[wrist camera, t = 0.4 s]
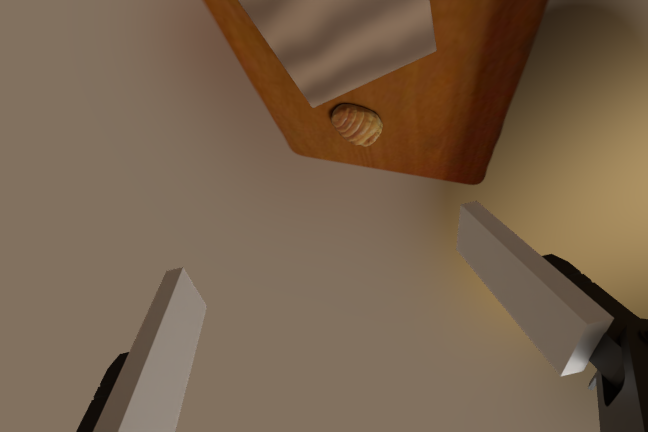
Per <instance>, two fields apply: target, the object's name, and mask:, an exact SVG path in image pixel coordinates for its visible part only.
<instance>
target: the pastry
mask: <svg viewBox="0 0 648 432" xmlns="http://www.w3.org/2000/svg"><path fill="white" fill-rule="evenodd" d="M331 122H332V124H333V125H334V126H335V129H336V130H337V131H339V133H340V135H341V136H343V137H344V139H346V140H347V141H350V142H351V143H352V144H354V145H359V144H360V145H363V146H369V145H371V144H372V143H373V142H375V141H376V139H377V137H378V136H379V135H380V133H381V130H382V126H383V124H382V121H381V120H380V118H379V117H378V115H377V114H375V113H374V112H372V111H371V110H368V109H365V108H363V107H359V106H356V105H352V104H341V105H339V106H338V107H337V108H336V109H335V110H334V111H333V114H332V117H331Z"/></svg>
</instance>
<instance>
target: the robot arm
mask: <svg viewBox="0 0 648 432" xmlns="http://www.w3.org/2000/svg"><path fill="white" fill-rule="evenodd" d="M456 249H457V251H458V252H459V253H460V254H461V256H462V257H463V258H464V259H465V260H466V262H467V263H468V264H469V265H470V267H471V268H472V269H473V270H474V271H475V272H476V274H477V275H478V276H479V277H480V279H481V280H482V281H483V282H484V284H485V285H486V286H487V287H488V288H489V289H490V291H491V292H492V293H493V295H495V297H496V298H497V299H498V301H499V302H500V303H501V304H502V306H503V307H504V308H505V309H506V310H507V311H508V313H509V314H510V315H511V316H512V318H513V319H514V320H515V321H516V323H517V324H518V325H519V326H520V327H521V329H522V330H523V331H524V332H525V334H526V335H527V336H528V337H529V338H530V340H531V341H532V342H533V343H534V344H535V346H536V347H537V348H538V349H539V351H540V352H541V353H542V354H543V355H544V357H545V358H546V359H547V360H548V362H549V363H550V364H551V365H552V366H553V367H554V369H555V370H556V371H557V373H558V374H559V375H560V376H564V375H568V374H572V373H576V372H581V371H583V370H584V368H585V367H586V365H587V363H588V362H589V361H590V362H591V363H592V364H593V365H594V366H595V367H596V368H597V369H598V370H597V372H596V373H595V375H594V376H593V378H592V380H591V381H590V383H589V387H588V389H590V390H593V389H594V387H595V386H596V385H597V397H598V408H599V420H600V432H648V319H640V318H639V317H637V316H636V315H635V314H633V313H632V312H631V311H629V310H628V309H627V308H626V307H624V306H623V305H622V304H621V303H619V302H618V301H617V300H616V299H614V298H613V297H612V296H610V295H609V294H608V293H607V292H605V291H604V290H603V289H602V288H600V287H599V286H598V285H597V284H595V283H592V281H591V280H590V279H589V278H588V277H587V276H585V275H584V274H581V272H580V271H579V270H578V269H576V268H575V267H574V266H573V265H572V264H570V263H569V262H568V261H565V260H563V259H561V258H559V257H557V256H555V255H553V254H549V255H544V256H541V255H540V254H538V253H537V252H536V251H534V249H532V248H531V247H530V246H529V245H528V244H526V243H525V242H524V241H523V240H522V239H521V238H519V237H518V236H517V235H516V234H515V233H514V232H513V231H511V230H510V229H509V228H508V227H507V226H505V225H504V224H503V223H502V222H501V221H500V220H498V219H497V218H496V217H495V216H494V215H493V214H491V213H490V212H489V211H488V210H487V209H485V208H484V207H483V206H482V205H481V204H480V203H479V202H477V201H475V202H470V203H465V204H461V207H460V217H459V228H458V238H457V248H456ZM206 308H207V306H206V304H205V303H204V301H203V299H202V298H201V296H200V294H199V293H198V291H197V289H196V288H195V286H194V284H193V283H192V281H191V279H190V278H189V276H188V275H187V273H186V271H185V270H184V268H183V267H182V268H178V269H173V270H169V271H166V273H165V275H164V278H163V280H162V282H161V284H160V286H159V289H158V291H157V293H156V295H155V298H154V300H153V302H152V304H151V306H150V308H149V310H148V313H147V315H146V317H145V319H144V322H143V324H142V326H141V328H140V330H139V332H138V334H137V337H136V339H135V341H134V343H133V346H132V348H131V350H130V352H127V353H123V354H120V355H119V356H118V357H117V358H116V359H115V361H114V362H113V363H112V364H111V365H110V367H109V368H108V369H107V371H106V373H105V375H104V377H103V379H102V381H101V383H100V387H98V389H97V391H96V393H95V395H94V400H92V401H91V403H90V405H89V407H88V410H87V411H86V413H85V415H84V417H83V419H82V421H81V423H80V425H79V427H78V429H77V432H175V430H176V426H177V422H178V418H179V414H180V410H181V406H182V402H183V398H184V394H185V390H186V386H187V382H188V379H189V375H190V370H191V367H192V363H193V359H194V355H195V351H196V347H197V343H198V339H199V335H200V331H201V327H202V323H203V319H204V315H205V311H206Z"/></svg>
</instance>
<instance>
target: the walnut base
mask: <svg viewBox="0 0 648 432" xmlns="http://www.w3.org/2000/svg"><path fill="white" fill-rule="evenodd" d="M238 1H239V2H240V4H241V5H242V7H243V8H244V9H245V11H246V12H247V14H248V15H249V17H250V18H251V20H252V21H253V23H254V24H255V25H256V27H257V28H258V30H259V31H260V33H261V34H262V36H263V37H264V38H265V40H266V41H267V43H268V44H269V46H270V47H271V49H272V50H273V51H274V53H275V54H276V56H277V57H278V59H279V60H280V62H281V63H282V64H283V66H284V67H285V69H286V70H287V72H288V73H289V75H290V76H291V77H292V79H293V80H294V82H295V83H296V85H297V86H298V88H299V89H300V90H301V92H302V93H303V95H304V96H305V98H306V99H307V101H308V102H309V104H310V105H311V106H312V108H314V107H316V106H318V105H320V104H323V103H325V102H327V101H329V100H331V99H333V98H336V97H338V96H340V95H342V94H344V93H346V92H348V91H351V90H353V89H355V88H357V87H359V86H361V85H364V84H366V83H368V82H370V81H372V80H374V79H377V78H379V77H381V76H383V75H385V74H387V73H390V72H392V71H394V70H396V69H398V68H400V67H403V66H405V65H407V64H409V63H411V62H413V61H415V60H418V59H420V58H422V57H424V56H426V55H428V54H431V53H433V52H435V51H437V50H436V43H435V36H434V29H433V22H432V15H431V9H430V2H429V0H238Z"/></svg>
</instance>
